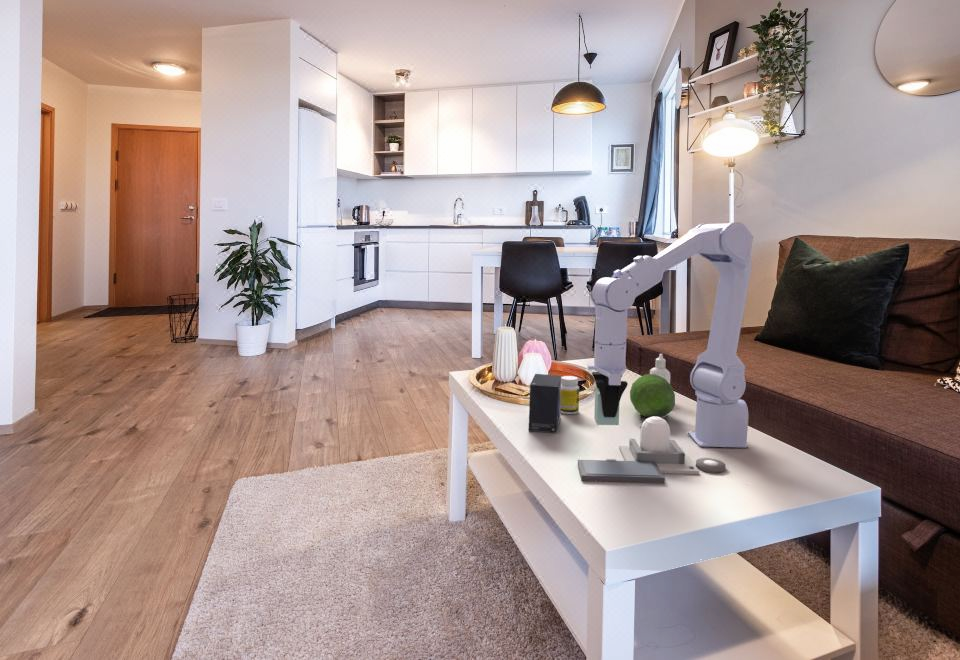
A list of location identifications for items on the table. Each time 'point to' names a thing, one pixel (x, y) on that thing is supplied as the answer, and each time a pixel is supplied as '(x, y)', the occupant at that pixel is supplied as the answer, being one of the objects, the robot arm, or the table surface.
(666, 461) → the grey piece
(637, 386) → the fruit
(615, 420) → the plug block
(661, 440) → the capsule
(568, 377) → the supplement bottle
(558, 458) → the table surface
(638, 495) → the table surface
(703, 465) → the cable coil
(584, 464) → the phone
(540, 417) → the small box
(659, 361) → the eye dropper bottle
